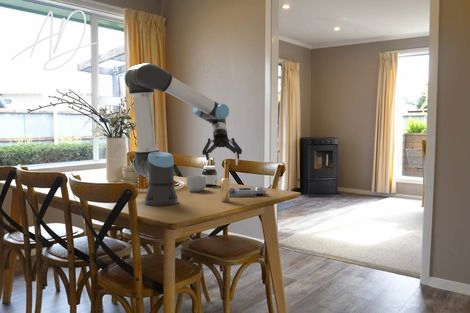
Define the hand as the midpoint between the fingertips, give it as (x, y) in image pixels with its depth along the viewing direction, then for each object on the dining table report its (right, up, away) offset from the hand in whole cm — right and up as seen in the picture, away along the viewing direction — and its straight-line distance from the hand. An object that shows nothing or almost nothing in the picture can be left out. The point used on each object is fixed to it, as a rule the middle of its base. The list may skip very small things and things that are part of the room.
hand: (223, 164), depth 204 cm
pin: (+1, -18, -9) cm, 20 cm away
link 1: (+8, -16, +8) cm, 20 cm away
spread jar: (-11, -14, +38) cm, 42 cm away
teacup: (-15, -15, +22) cm, 30 cm away
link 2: (+13, -16, +9) cm, 22 cm away
